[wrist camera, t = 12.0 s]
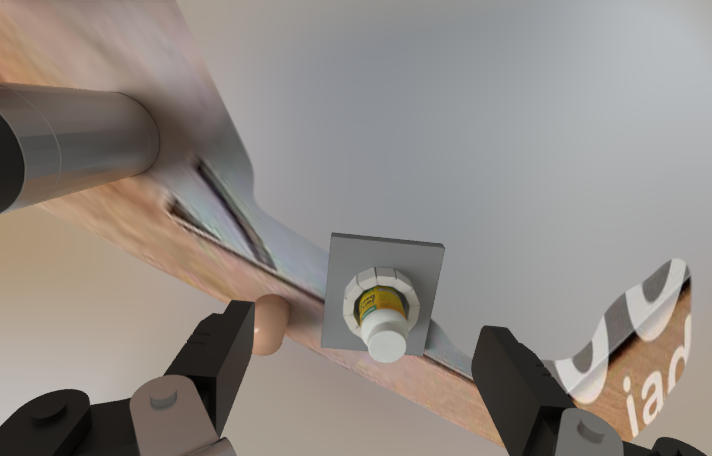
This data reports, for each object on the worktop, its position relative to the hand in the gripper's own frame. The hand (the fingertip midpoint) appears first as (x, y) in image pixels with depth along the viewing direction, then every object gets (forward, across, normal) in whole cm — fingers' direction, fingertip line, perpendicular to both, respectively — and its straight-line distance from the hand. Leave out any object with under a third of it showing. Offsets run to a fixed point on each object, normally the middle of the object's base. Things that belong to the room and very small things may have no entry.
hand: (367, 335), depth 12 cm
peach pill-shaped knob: (+31, +8, +19) cm, 37 cm away
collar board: (+30, -6, +15) cm, 34 cm away
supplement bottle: (+29, -6, +15) cm, 33 cm away
